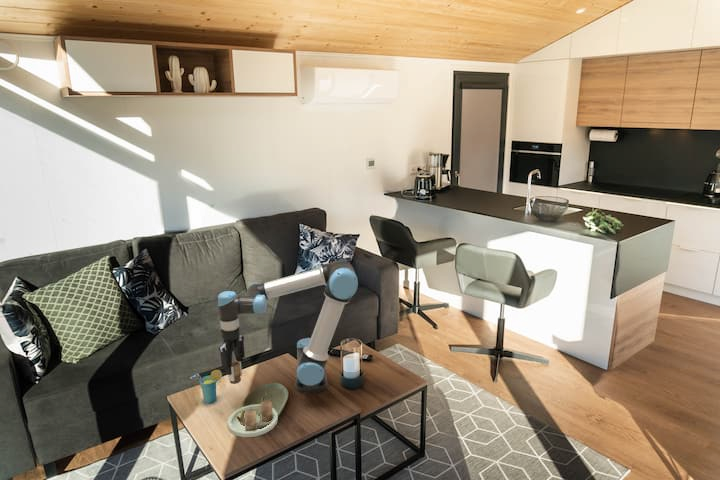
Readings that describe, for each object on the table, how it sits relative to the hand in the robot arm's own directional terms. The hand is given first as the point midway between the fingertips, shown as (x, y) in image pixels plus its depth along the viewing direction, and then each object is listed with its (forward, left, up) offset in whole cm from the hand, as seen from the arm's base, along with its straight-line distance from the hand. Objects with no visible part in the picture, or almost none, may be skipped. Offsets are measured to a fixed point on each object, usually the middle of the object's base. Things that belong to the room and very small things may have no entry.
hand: (235, 377), depth 213 cm
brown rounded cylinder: (-14, +13, -13) cm, 23 cm away
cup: (+14, -6, -14) cm, 21 cm away
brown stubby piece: (0, 0, -2) cm, 2 cm away
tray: (-8, +13, -14) cm, 21 cm away
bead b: (-8, +19, -13) cm, 25 cm away
